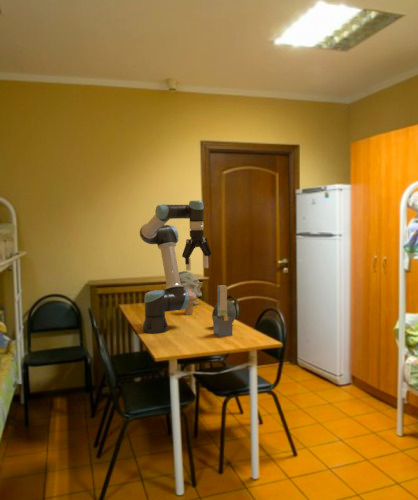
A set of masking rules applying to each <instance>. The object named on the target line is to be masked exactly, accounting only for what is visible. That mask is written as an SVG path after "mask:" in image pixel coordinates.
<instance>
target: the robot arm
mask: <svg viewBox="0 0 418 500" xmlns="http://www.w3.org/2000/svg"><path fill="white" fill-rule="evenodd" d="M204 208H205V207H204V202H203V201H202V200H190V201H189V202H188V204H158V205H157V206H156V207H155V210H154V212H155V214H154V215H153V217H151V219H149V221H148V222H147V223H144V224H143V225H142V226H141V228H140V229H139V236H140V239H141V240H142V241H143V242H144V243H146V244H149V245H157V248H158V249H159V250H160V253H161V258H162V266H163V271H164V277H165V285H166V288H165V289H154V290H150V291H148V292H146V293H145V294H144V299H143V300H144V301H143V302H144V322H143V324H142V332H143V333H146V334H162V333H165V332H167V331H169V325H168V322H167V319H166V312H174V311H182V310H185V309H186V308H187V306H188V303H189V293H188V291H187V290H184V286H182V285H181V283H180V277H179V272H180V271H179V266H178V261H177V255H176V250H175V247H176V246H177V243H178V242H179V233H178V230H177V228H176V227H175V226H174V225H172V224H171V225H170V224H166V223H167V222H169V221H170V220H171V219H173V220H174V219H176V220H177V219H188V220H189V229H190V230H189V237H190V239H189V238H188V239H186V240H185V244H184V245H185V246H184V249H183V251H182V255H181V256H182V258H184V260H185V261H184V262H185V271H187V272H191V271H192V267H191V265H192V262H191V261H192V260H191V258H190V257H191V255H193V254H192V253H193V251H194V249H196V248H199V249H200V250H201V252H202V253H203V268H204V269H209V261H210V260H209V259H210V256H211V255H212V250H211V248H210V245H209V242H208V238H207V237H205V230H204V229H205V228H204V224H205V223H204V219H205V218H204V214H205V212H204V211H205V209H204Z"/></svg>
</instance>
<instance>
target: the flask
mask: <svg viewBox="0 0 418 500" xmlns="http://www.w3.org/2000/svg"><path fill="white" fill-rule="evenodd" d="M227 294H228V291H227ZM236 311H237V310H236V305H234V304H233V302H232V301H231V300H229V299H227V315H228V316H230V317H232V324H233V323H234V321H235V319H236V315H237V312H236ZM213 316H218V302H217V303H216V304H215V306H214V307H213V310H212V314H211V318H212V320H213Z"/></svg>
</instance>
